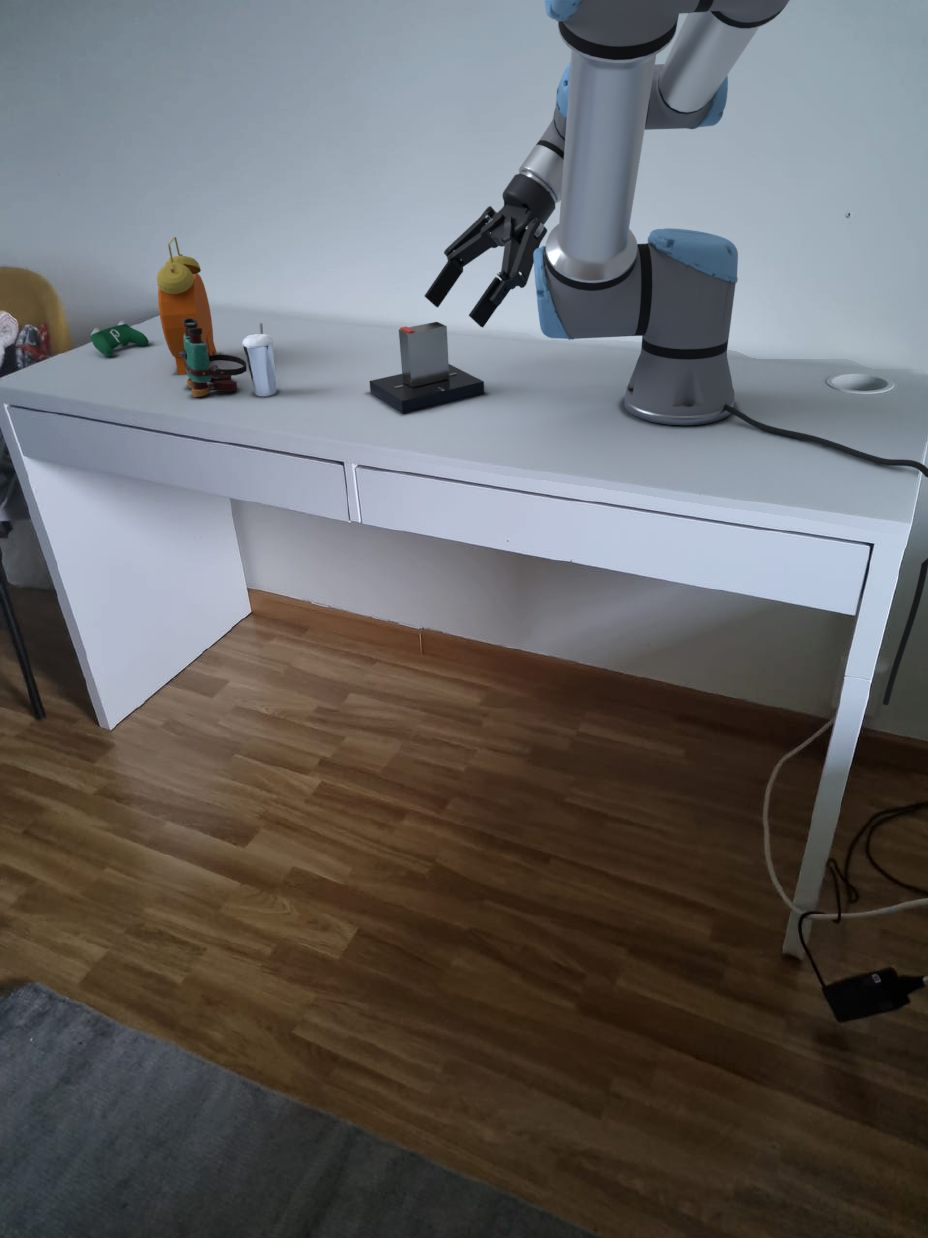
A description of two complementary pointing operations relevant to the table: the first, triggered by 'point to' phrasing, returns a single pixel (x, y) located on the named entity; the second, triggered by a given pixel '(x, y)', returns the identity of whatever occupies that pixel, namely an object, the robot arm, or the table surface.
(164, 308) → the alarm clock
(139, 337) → the gaming controller
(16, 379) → the table surface
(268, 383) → the milkshake
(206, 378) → the binoculars
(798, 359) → the table surface
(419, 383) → the red-capped silver block
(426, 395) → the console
